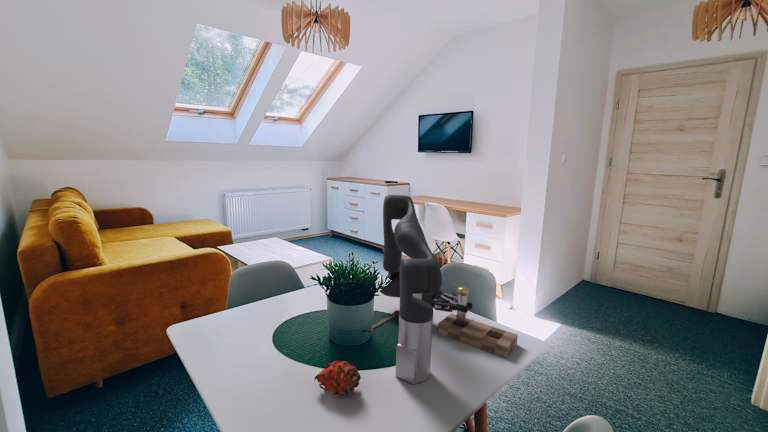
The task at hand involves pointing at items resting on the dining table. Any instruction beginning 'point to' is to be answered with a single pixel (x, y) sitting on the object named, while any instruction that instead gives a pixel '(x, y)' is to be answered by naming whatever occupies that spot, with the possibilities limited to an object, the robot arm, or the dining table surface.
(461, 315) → the gold-capped metal cylinder
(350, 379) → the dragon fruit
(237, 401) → the dining table surface
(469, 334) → the stand
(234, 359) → the dining table surface
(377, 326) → the tomahawk
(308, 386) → the dining table surface
